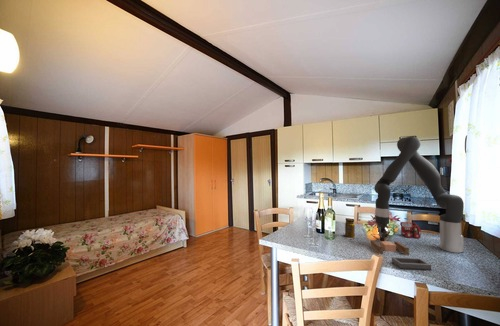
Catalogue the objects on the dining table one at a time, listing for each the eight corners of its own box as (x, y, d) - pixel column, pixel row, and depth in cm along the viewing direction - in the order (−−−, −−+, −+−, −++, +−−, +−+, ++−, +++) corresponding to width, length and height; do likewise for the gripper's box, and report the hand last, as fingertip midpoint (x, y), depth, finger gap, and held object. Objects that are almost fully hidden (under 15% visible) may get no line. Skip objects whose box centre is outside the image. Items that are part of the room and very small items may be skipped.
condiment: (357, 237, 144) (357, 220, 144) (350, 239, 140) (350, 221, 140) (347, 234, 150) (347, 217, 150) (340, 236, 146) (340, 219, 146)
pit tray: (420, 263, 105) (420, 258, 105) (431, 270, 98) (431, 265, 98) (391, 262, 106) (391, 257, 106) (400, 268, 99) (400, 263, 99)
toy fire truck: (423, 239, 140) (423, 224, 140) (403, 237, 143) (403, 223, 143) (418, 236, 147) (417, 221, 147) (398, 234, 150) (398, 220, 150)
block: (389, 247, 126) (389, 241, 126) (395, 252, 120) (395, 245, 120) (379, 247, 126) (379, 241, 126) (385, 251, 120) (385, 244, 120)
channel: (397, 247, 125) (397, 241, 125) (408, 254, 115) (408, 247, 115) (370, 246, 126) (370, 240, 126) (379, 253, 116) (379, 246, 117)
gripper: (394, 218, 121) (394, 247, 121) (382, 213, 134) (382, 239, 134) (381, 217, 122) (381, 246, 121) (370, 212, 135) (370, 238, 135)
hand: (382, 242), depth 128 cm, fingers closed
